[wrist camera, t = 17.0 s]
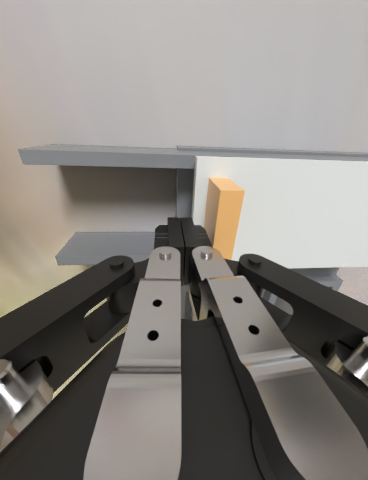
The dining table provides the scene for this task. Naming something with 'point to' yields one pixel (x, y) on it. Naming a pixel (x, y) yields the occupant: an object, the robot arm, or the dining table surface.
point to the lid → (284, 209)
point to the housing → (183, 158)
